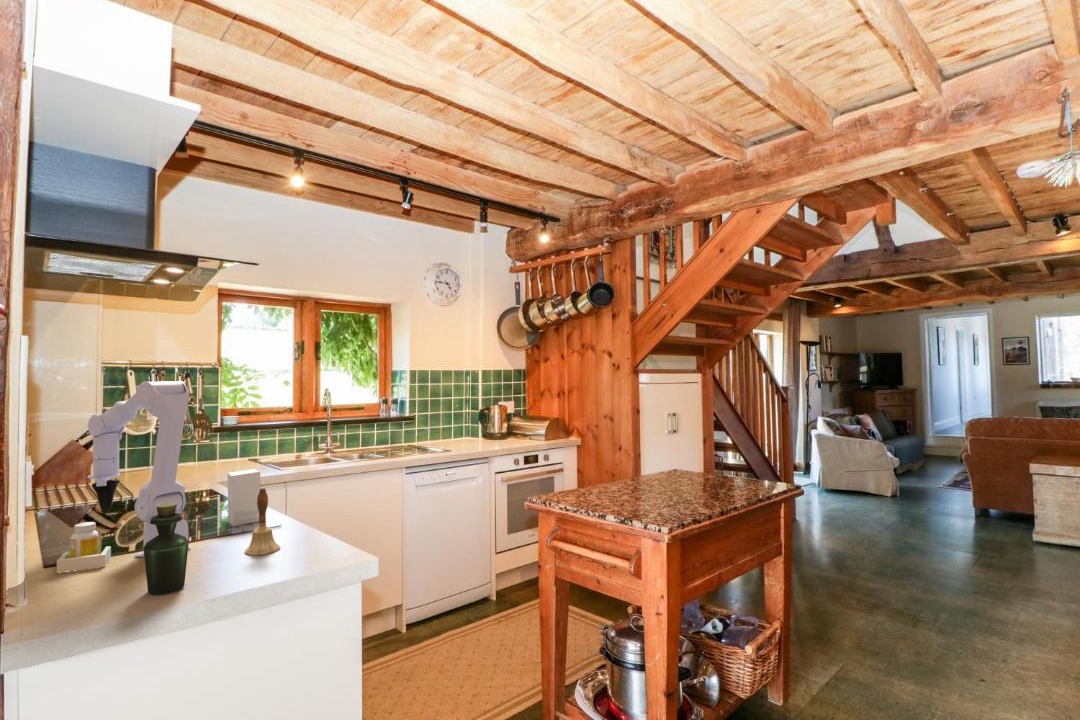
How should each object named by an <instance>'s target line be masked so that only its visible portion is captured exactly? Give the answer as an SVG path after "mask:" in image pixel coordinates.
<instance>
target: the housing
mask: <svg viewBox="0 0 1080 720" xmlns="http://www.w3.org/2000/svg"><path fill="white" fill-rule="evenodd" d="M111 555H112V546H109V545H108V546H105V548H104V549H103V551H102V552H101V553H98V554H97V555H89V556H82V557H74V558H70V550H69V551H64V552H63V553H62V555H61V556H60V557H59V558H57V560H56V573H57V572H65V571H74V570H81V571H86V569H88V570H94V569H93V568H95V569H102V568H101V567H103V568H106V567H107V565H108V564H109V562H110V561H111V559H112V556H111ZM110 558H111V559H110ZM108 561H109V562H108ZM107 563H108V564H107ZM74 572H75V571H74Z"/></svg>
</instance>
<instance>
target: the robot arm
mask: <svg viewBox="0 0 1080 720" xmlns="http://www.w3.org/2000/svg"><path fill="white" fill-rule="evenodd" d="M135 391H136V392H135V393H134V394H133V395H132V396H131V397H129V398H128V400H127V401H122V400H119V401H116V402H115V403H114V405H113V406H111V407H110V408H108V409H106V410H104V411H105V412H103V413H102V414H92V415H91V416H90V417H89V419H88V423H87V431H88V433H89V434H90V435H91V437H92V474H91V475H90V474H89V475H87V479H88V480H90V479H91V480H94V481H95V482H94V483H92V484H91V487H92V489H93V491H94V492H95V494H96V496H97V499H98V504H99V508H100V510H105V509H107V510H109V509H111V508H112V506H113V502H114V497H115V493H116V490H117V487H118V485H119V483H120V481H121V480H120V479H116V478H119V477H120V476H121V473H120V441H122V438H123V432H124V431H125V426H126V425H127V424H129V423H130V422H132V421H133V420H135V419H136V417H137V415H138V412H139V411H140V410H142V409H143V408H144V409H145V410H146V411H147V412H148V413H149V414H150V415H151V416H152V417H156V418H157V419H158V421H159V422H158V423H159V424H158V430H157V437H156V443H155V450H154V457H153V463H152V470H151V478H150V480H149V481H148V482H147V483H146V484H145V485H143V486H142V487H141V488H140V489H139V492H138V493H139V494H138V497H137V498H136V500H135V503H134V513H135V515H136V517H138V518H139V520H140V521H142V522H143V547H144V546H145V544H146V543H147V542H148V541H150V540H151V539H153V538H154V537H156V536H157V535H159V534H158V531H157V527H156V525H154V524H150V521H151V518H152V517H153V516H156V515H158V513H157V509H156V506H157V505H159V504H164V503H177V507H176V511H175V513H180V514H181V512H183V510H184V508H185V506H186V502H187V501H186V499H187V498H186V496H185V495H186V494H185V489H186V487H185V486H184V485H183V484H182V483H181V482H179V481H178V480H176V478H177V474H178V466H179V461H180V460H179V458H180V452H181V446H182V440H183V433H184V425H185V420H186V414H187V413H188V407H189V400H190V394H191V393H190V392H191V391H190V390H189V389H188V387H187V385H186V383H185V382H184V381H182V380H175V381H173V380H171V381H147V380H146V381H143V382H141V383H140V384H138V385H137V387H136V390H135ZM113 479H114V480H113ZM174 533H177V534H179V535H182V536H185V537H186V538H187V540H188V541H189V523H188V521H187V520H186V519H184V518H182V520H181V521H179V522H177V525H176V528H175V532H174ZM191 548H192V547H191V546H188V550H191ZM134 557H135V558H144V550H143V551H141V552H139V553H135V554H134Z"/></svg>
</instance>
